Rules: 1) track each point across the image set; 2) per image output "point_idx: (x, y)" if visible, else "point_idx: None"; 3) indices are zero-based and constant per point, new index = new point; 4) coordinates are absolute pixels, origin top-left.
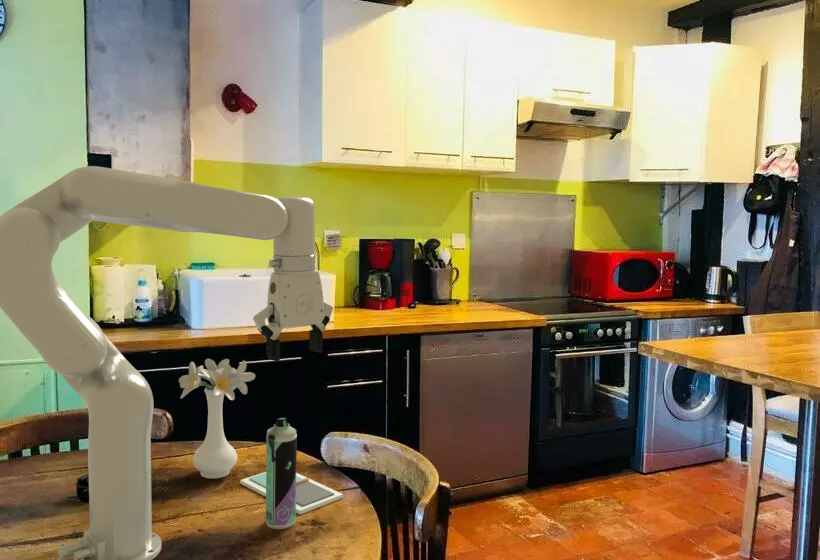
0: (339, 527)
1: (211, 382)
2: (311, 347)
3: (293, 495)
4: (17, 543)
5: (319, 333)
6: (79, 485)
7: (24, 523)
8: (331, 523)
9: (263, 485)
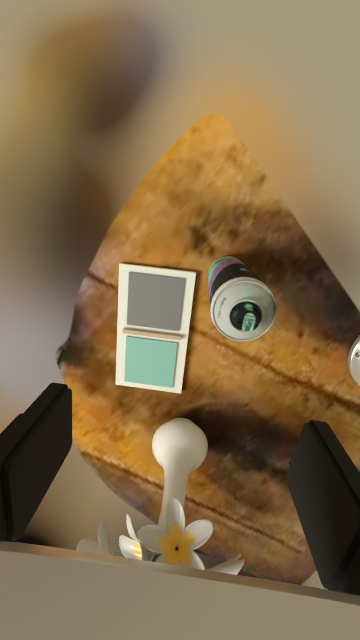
0: (188, 202)
1: None
2: (65, 445)
3: (227, 261)
4: None
5: (3, 467)
6: None
7: None
8: (187, 220)
9: (175, 360)
